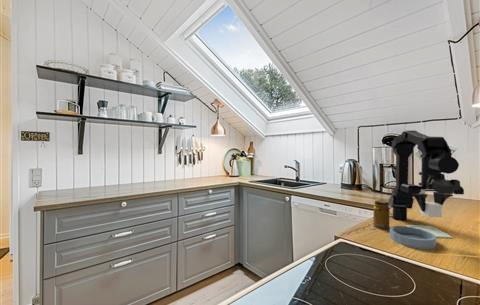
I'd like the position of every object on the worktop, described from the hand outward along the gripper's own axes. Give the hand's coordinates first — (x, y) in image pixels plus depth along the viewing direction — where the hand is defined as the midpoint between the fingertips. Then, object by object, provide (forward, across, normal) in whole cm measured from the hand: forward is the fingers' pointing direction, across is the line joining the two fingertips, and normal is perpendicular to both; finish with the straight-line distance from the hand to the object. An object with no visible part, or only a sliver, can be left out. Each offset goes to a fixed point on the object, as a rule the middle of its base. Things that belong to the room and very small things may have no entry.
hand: (430, 211), depth 85 cm
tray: (+12, +6, +10) cm, 17 cm away
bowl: (+12, -6, 0) cm, 13 cm away
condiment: (+12, -10, +13) cm, 21 cm away
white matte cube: (+1, 0, 0) cm, 1 cm away
